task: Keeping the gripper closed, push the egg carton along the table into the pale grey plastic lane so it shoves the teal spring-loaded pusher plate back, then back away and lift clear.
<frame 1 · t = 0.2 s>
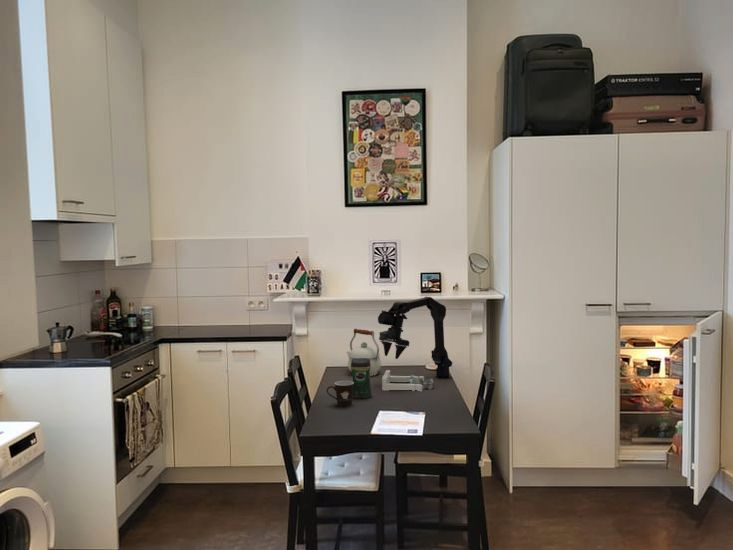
hand: (391, 357, 269), 15 cm above the table, tool pointing down, fingers open, 9 cm apart
pusher: (411, 380, 270), point 3 cm above the table, slide at 0.0 cm
coffee mug: (341, 404, 243), on the table
kettle: (362, 373, 300), on the table
egg carton: (425, 387, 269), on the table
coffee jar: (361, 397, 254), on the table
lane: (402, 386, 271), on the table
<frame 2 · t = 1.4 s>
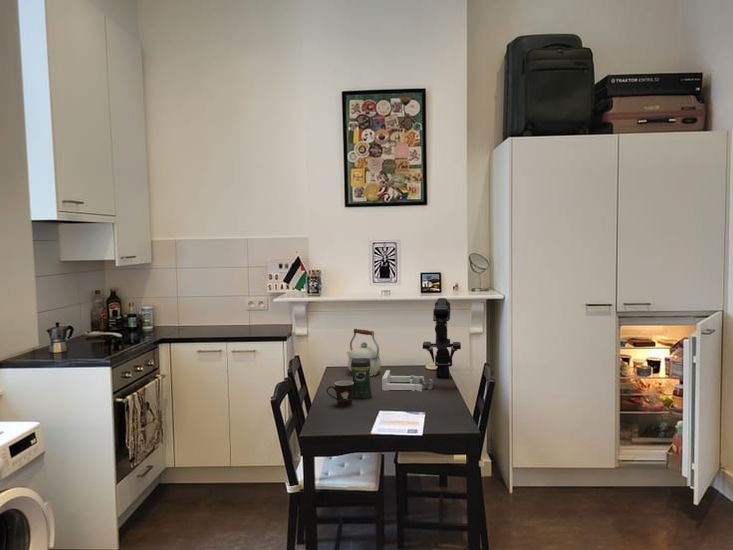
hand: (442, 362, 267), 12 cm above the table, tool pointing down, fingers open, 8 cm apart
nothing on the table moved.
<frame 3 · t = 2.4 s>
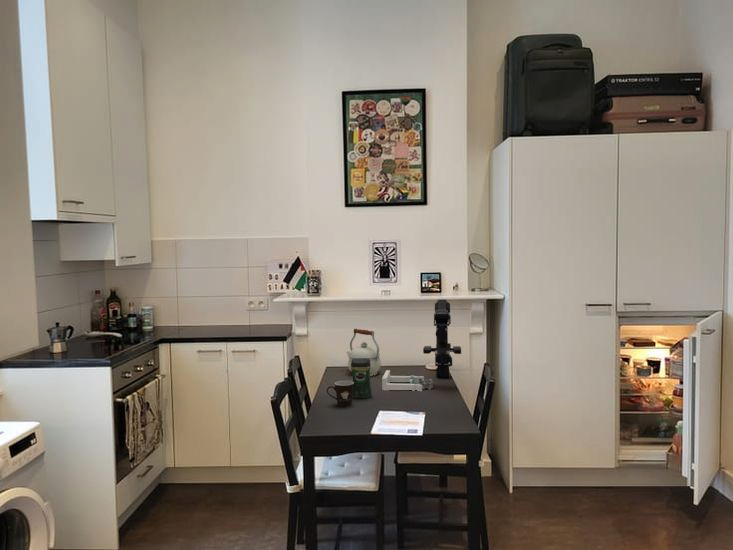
hand: (442, 366, 268), 10 cm above the table, tool pointing down, fingers closed
nothing on the table moved.
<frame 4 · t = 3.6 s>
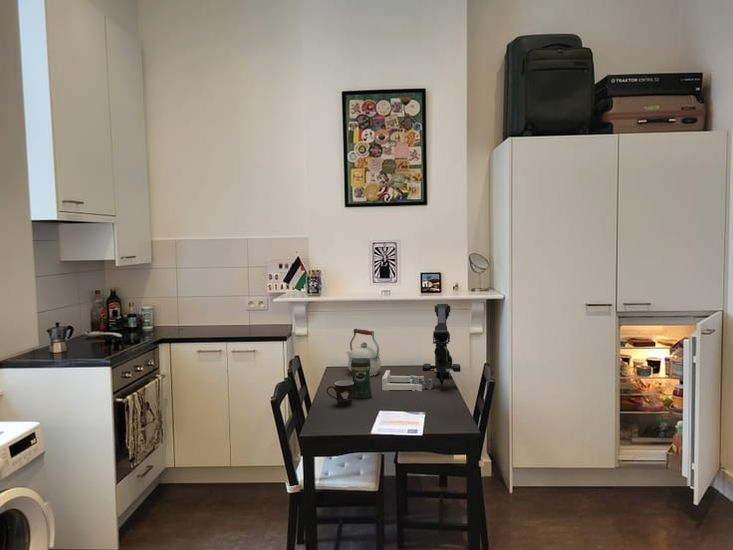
hand: (441, 384, 268), 1 cm above the table, tool pointing down, fingers closed
nothing on the table moved.
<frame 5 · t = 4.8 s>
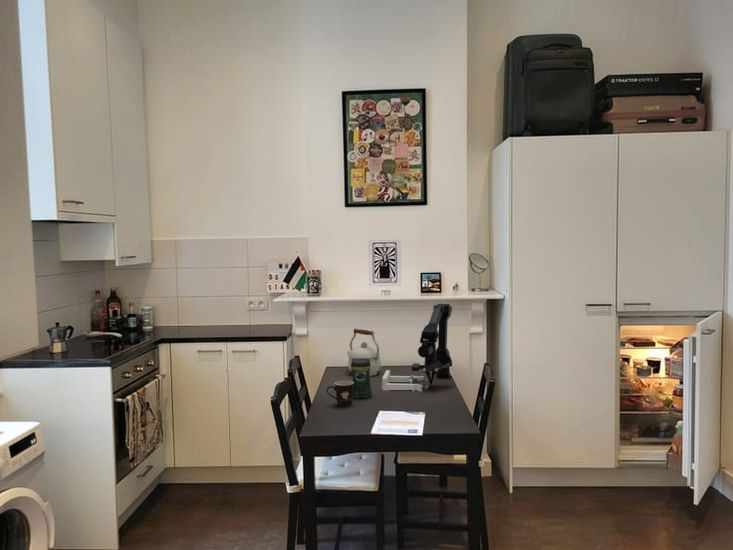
hand: (430, 384, 269), 1 cm above the table, tool pointing down, fingers closed
egg carton: (421, 387, 270), on the table, touching gripper
everything else where it was.
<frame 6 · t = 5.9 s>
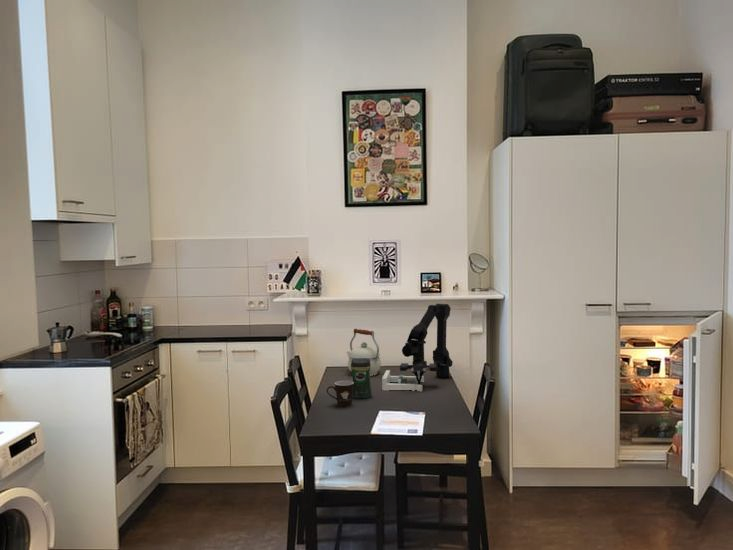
hand: (419, 383, 270), 1 cm above the table, tool pointing down, fingers closed
pusher: (400, 380, 271), point 3 cm above the table, slide at 5.7 cm
egg carton: (409, 387, 271), on the table, touching gripper
everything else where it was.
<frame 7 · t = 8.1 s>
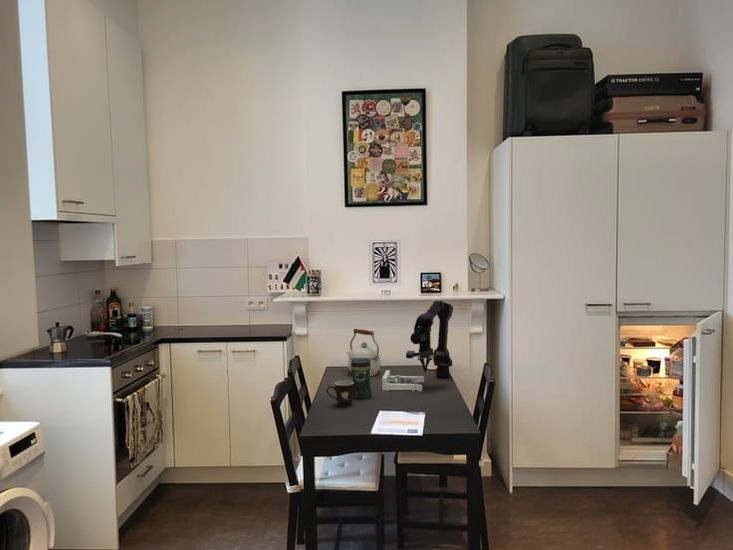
hand: (425, 371, 269), 8 cm above the table, tool pointing down, fingers closed
pusher: (397, 380, 272), point 3 cm above the table, slide at 7.4 cm
egg carton: (406, 387, 271), on the table
everything else where it was.
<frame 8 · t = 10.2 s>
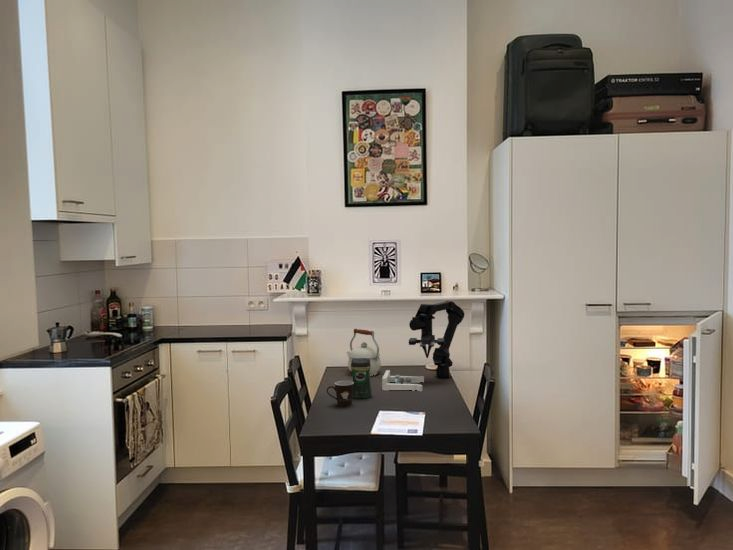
hand: (427, 357, 278), 13 cm above the table, tool pointing down, fingers closed
nothing on the table moved.
at the end: egg carton inside the target area (1.4 cm from its centre), on the table; pusher slide at 7.5 cm; egg carton tilted 2° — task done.
